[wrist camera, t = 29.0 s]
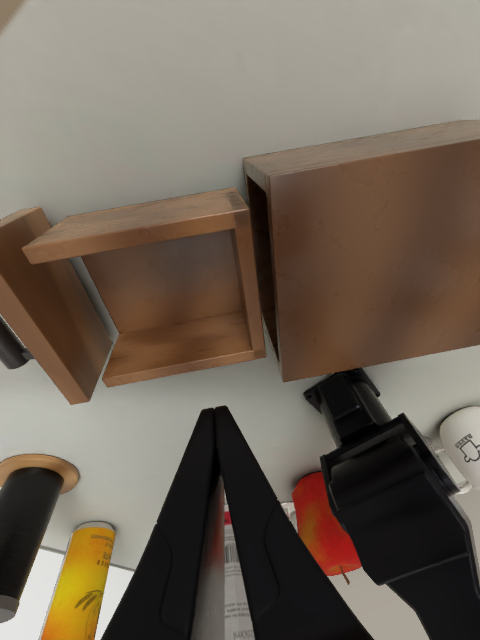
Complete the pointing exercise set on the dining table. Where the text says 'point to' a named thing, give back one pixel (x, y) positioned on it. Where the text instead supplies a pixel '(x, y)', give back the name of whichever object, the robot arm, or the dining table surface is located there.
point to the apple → (322, 528)
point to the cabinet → (368, 248)
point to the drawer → (131, 291)
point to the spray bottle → (235, 590)
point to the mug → (463, 444)
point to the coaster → (43, 461)
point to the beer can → (80, 584)
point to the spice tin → (23, 528)
